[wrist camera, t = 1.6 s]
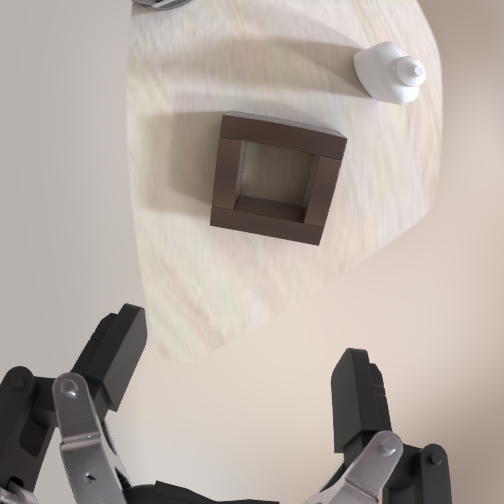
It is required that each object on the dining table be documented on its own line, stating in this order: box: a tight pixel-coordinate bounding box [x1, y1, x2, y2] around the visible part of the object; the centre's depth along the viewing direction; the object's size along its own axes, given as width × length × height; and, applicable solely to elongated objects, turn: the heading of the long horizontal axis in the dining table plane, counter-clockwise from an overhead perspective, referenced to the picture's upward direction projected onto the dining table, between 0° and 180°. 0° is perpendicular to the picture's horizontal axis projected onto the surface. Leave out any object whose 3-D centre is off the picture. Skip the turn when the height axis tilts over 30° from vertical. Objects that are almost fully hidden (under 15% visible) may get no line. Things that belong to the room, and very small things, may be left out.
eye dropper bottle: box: [353, 42, 425, 104], centre depth 20 cm, size 4×6×12 cm
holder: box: [210, 111, 347, 246], centre depth 30 cm, size 12×12×4 cm
